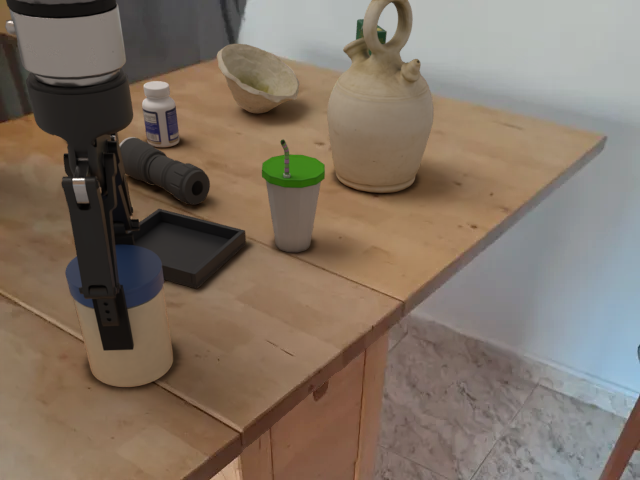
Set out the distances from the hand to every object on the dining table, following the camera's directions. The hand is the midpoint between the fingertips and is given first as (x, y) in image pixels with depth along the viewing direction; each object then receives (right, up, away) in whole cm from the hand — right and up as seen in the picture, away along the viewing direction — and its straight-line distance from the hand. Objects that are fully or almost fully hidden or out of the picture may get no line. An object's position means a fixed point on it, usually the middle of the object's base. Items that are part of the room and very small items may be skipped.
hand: (124, 319), depth 67 cm
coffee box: (+28, +52, +65) cm, 88 cm away
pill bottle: (-7, +36, +46) cm, 59 cm away
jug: (+28, +28, +39) cm, 56 cm away
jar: (0, -4, +4) cm, 5 cm away
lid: (0, +4, -4) cm, 5 cm away
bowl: (+8, +47, +59) cm, 76 cm away
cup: (+16, +13, +23) cm, 31 cm away
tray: (+1, +12, +20) cm, 23 cm away
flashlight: (-4, +24, +34) cm, 42 cm away
